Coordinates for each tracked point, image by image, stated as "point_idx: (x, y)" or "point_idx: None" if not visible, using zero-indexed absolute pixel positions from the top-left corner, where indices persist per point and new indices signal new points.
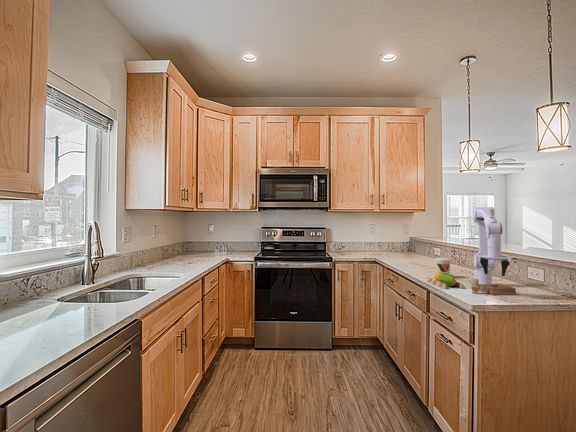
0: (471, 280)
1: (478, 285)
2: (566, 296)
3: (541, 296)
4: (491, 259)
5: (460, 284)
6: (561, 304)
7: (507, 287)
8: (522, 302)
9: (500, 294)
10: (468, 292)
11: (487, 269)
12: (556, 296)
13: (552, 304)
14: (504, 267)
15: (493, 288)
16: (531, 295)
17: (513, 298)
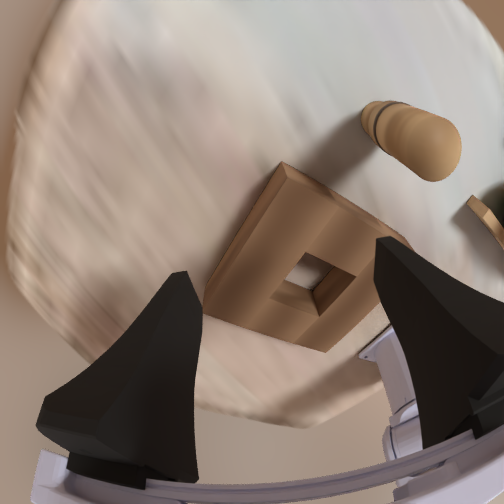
0: (453, 131)
1: (384, 136)
2: None
3: None
4: (370, 475)
5: (491, 212)
6: (10, 254)
7: (248, 306)
8: (60, 135)
9: (249, 214)
10: None
11: (393, 318)
12: None
13: (11, 225)
14: (107, 355)
15: (287, 204)
16: None
17: (144, 185)
